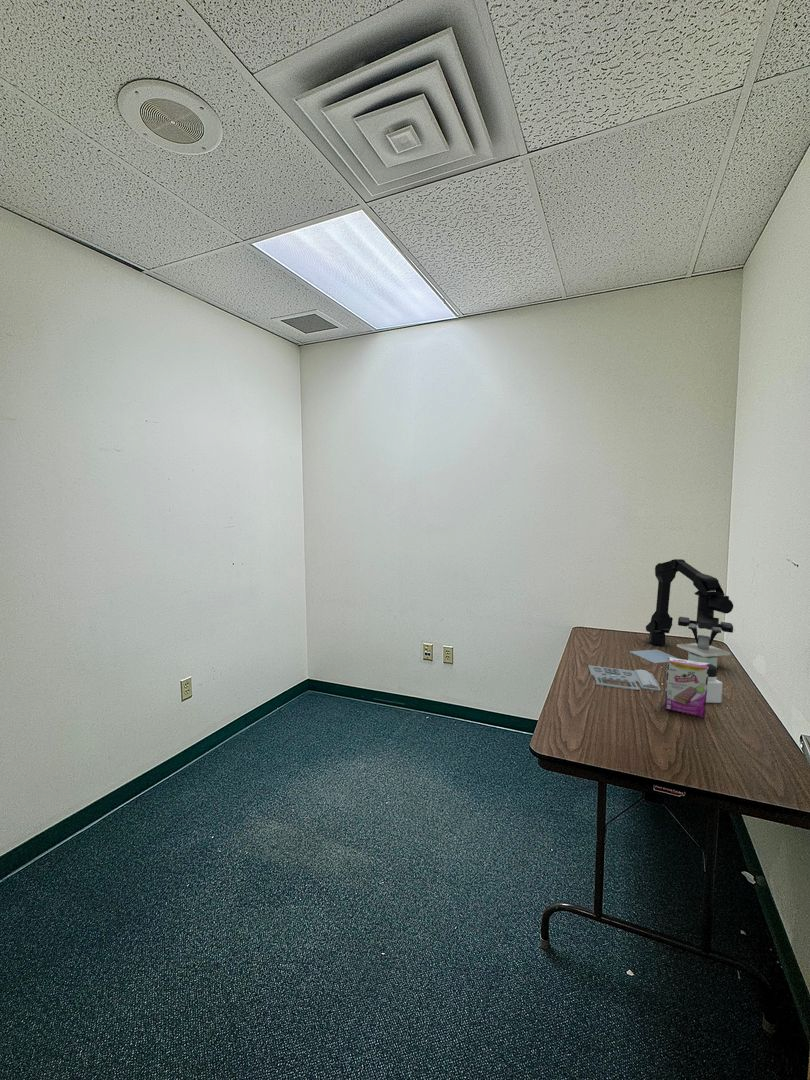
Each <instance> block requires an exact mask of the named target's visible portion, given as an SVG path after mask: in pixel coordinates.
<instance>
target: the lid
mask: <svg viewBox="0 0 810 1080" xmlns="http://www.w3.org/2000/svg"><path fill="white" fill-rule="evenodd" d="M697 635H698V644H696V642H695V643H681V644H679V643H677V644H676V647H677V648H680V649H682V650H684V651H687V652H688V651H690V652H692V653H695V654H697V655H700V656H702V657H709V656H717V657H721V656H731V652H730V651H727V650H724V649H721V648H718V647H716V646H713V645H710V646H709V641H710V636H709V635H703V634H697Z"/></svg>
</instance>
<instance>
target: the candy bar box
mask: <svg viewBox="0 0 810 1080" xmlns="http://www.w3.org/2000/svg"><path fill="white" fill-rule="evenodd" d="M678 658H679V657H676V658H672V657H668V662H666V663H667V664H666V665H667V666H666V675H665V677H666V678H665V689H664V690H665V691H664V692H665V693H664V708H665V709H664V710H666V709H668V710H667V711H670V710H673V711H672V712H675V711H678V712H677V713H679V712H682V713H681V714H684V713H686V715H689V714H691V715H690V716H693V715H694V717H698V716H699V718H703V719H704V718H705V717H706V708H707V707H706V706H707V703H706V696H707V682H708V671H709V668H708V664H707V663H702V662H696V661H690V660H688V659H685V658H683V659H682V658H679V659H678Z"/></svg>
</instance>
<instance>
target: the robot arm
mask: <svg viewBox="0 0 810 1080" xmlns="http://www.w3.org/2000/svg"><path fill="white" fill-rule="evenodd" d="M678 572H680V573H681V574H682V575H683V576H685V577H686V578H688V579H689V580H690V581H691V582H692V585H693V586H694V587H695V589H696V590H697V591H696V592H694V593H693V594H694V595H696V596H697V607H696V608H697V611H696V620H692V619H690V617H685V616H678V619H677V626H681V627H688V630H691V631H692V633H693V636H694V640H695V643H696V644H698V635H699V634H698V629H704V630H709V631H711V632H710V635H709V637H710V641H709V646H712V643H713V642H714V639H715V637H716V636H717V635H718V634H722V632H724V633H734V625H733V623H732V622H727V621H724V622H723V621H720V617H715V612H718V613H722V614H729V613H731V612H732V611H733V609H734V603H733V601H732V600H731V599H730V596H729V595H725V592H724V590H723V588H722V585H721V584H720V582H719V579H718V578H716V577H714V576H712V575H709V574H705V573H702V572H701V571H700V570H698V569H696V568H695V567H693V566H692V565H691V564H689V563H687V562H686V560H685V559H681V558H678V559H677V558H675V559H674V558H673V559H671V560H668V561H664V562H662V563H661V562H659V563H657V564H656V565H655V568H654V575H655V578H656V579H657V581H658V582H657V583H658V585H657V594H656V606H655V612H653V614H652V615H651V618H650V622H649V623H647V625H646V626H645V631H646V632H648V633H649V637H648V638H649V639H648V641H646V643H647V644H649V645H652V646H654V647H667V646H668V644H666V634H669V633H670V631H671V629H672V627H673V619H674V618H673V617H672V616H671V615H670V613H669V607H670V606H669V604H670V595H671V587H672V586H671V585H672V582H673V581H674V580H675V578H676V575H677V573H678ZM719 621H720V622H719Z"/></svg>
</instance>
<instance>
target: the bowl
mask: <svg viewBox="0 0 810 1080" xmlns="http://www.w3.org/2000/svg"><path fill="white" fill-rule="evenodd" d="M687 653H688V655H687V660H690V661H696V662H702V663H709V664H712V665H714V666H716V668H717V669H718V657H719V656H709V657H702V656H700V655H697V654H695V653H692V652H690V651H687Z"/></svg>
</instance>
